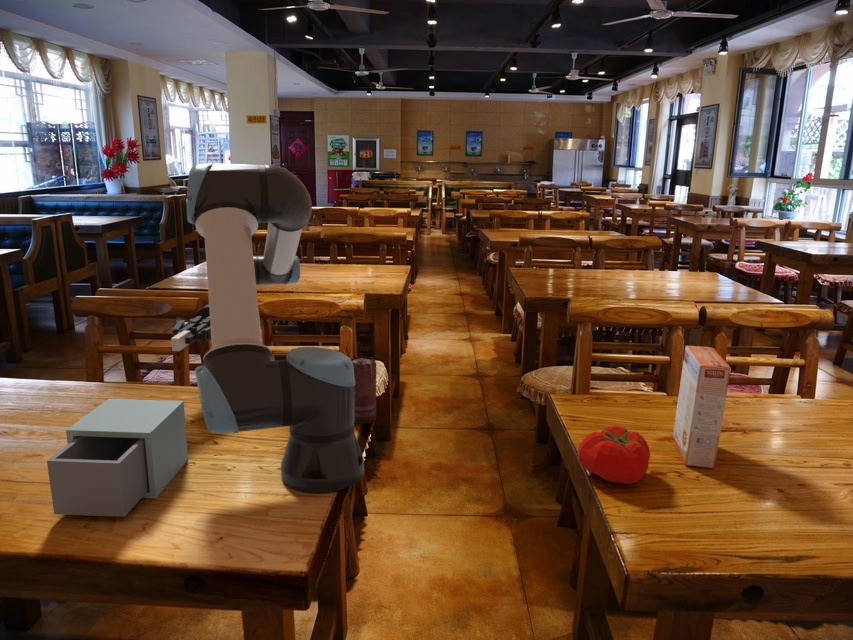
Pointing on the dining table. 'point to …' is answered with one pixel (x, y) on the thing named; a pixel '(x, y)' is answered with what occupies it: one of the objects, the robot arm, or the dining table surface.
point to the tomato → (615, 454)
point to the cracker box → (701, 406)
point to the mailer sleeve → (142, 433)
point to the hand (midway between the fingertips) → (175, 344)
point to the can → (364, 390)
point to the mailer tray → (98, 476)
